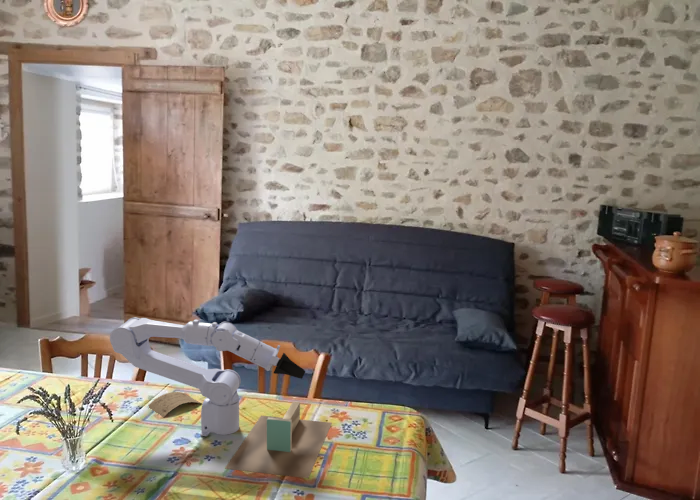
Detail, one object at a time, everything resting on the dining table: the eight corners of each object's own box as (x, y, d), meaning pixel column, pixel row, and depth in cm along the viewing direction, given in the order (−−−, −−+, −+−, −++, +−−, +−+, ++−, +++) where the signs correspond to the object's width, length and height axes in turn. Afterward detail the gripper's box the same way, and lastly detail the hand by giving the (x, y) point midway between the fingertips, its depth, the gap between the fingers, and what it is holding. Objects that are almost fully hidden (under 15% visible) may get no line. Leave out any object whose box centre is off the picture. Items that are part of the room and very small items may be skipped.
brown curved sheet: (162, 420, 168) (161, 411, 168) (142, 409, 175) (142, 400, 174) (205, 404, 179) (205, 396, 178) (186, 394, 186) (186, 386, 185)
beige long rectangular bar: (281, 437, 157) (281, 419, 156) (292, 418, 168) (292, 401, 167) (289, 438, 157) (289, 420, 156) (299, 419, 168) (299, 402, 167)
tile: (266, 449, 151) (266, 419, 150) (268, 447, 152) (268, 417, 151) (290, 452, 150) (290, 421, 149) (291, 449, 151) (291, 419, 150)
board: (224, 472, 142) (224, 468, 142) (261, 418, 170) (261, 415, 169) (308, 482, 139) (308, 478, 139) (331, 426, 166) (331, 422, 166)
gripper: (261, 336, 151) (311, 360, 151) (263, 338, 165) (309, 360, 165) (248, 362, 150) (298, 386, 150) (251, 362, 164) (297, 384, 164)
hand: (303, 374), depth 158 cm, fingers open, 7 cm apart
